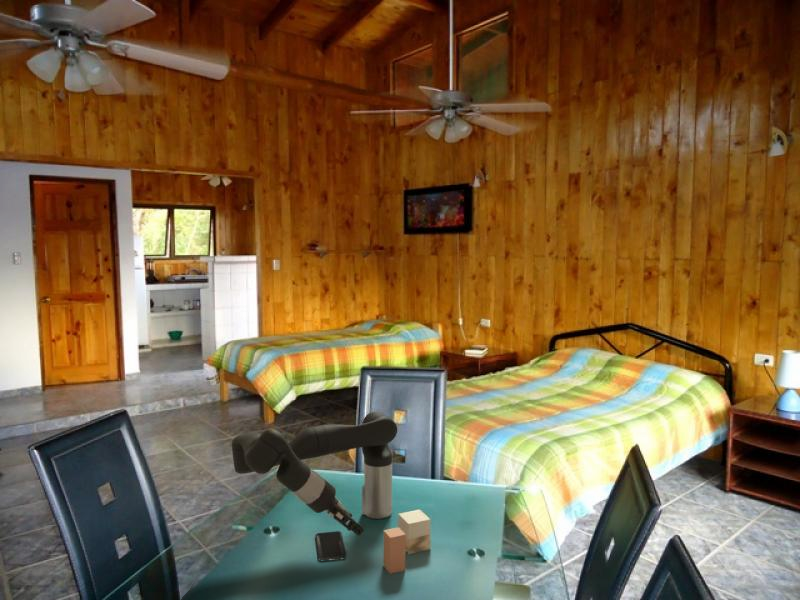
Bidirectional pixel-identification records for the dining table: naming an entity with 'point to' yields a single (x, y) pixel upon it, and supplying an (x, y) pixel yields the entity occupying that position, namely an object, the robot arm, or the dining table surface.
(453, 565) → the dining table surface
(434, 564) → the dining table surface
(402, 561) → the stack block
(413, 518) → the tower top
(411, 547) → the tower base
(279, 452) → the robot arm
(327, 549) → the phone
